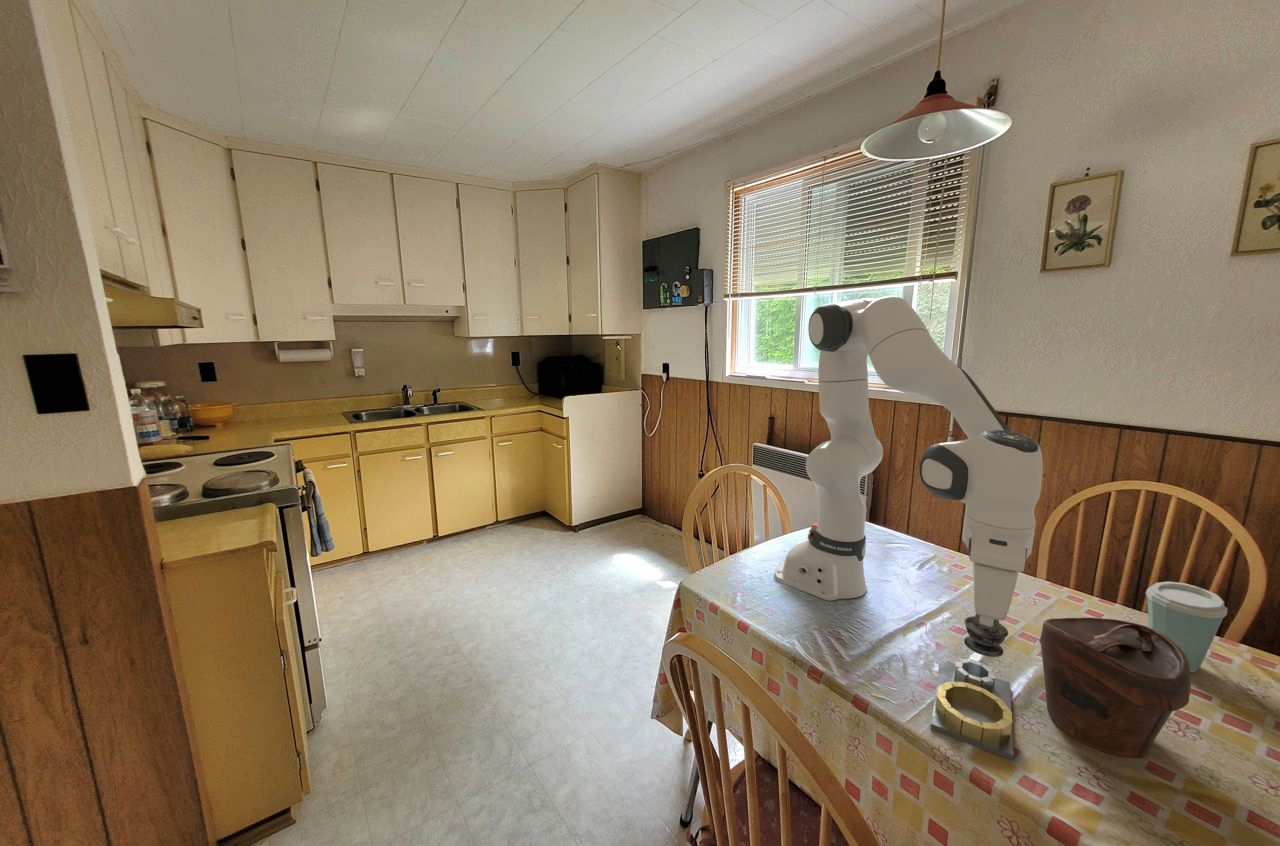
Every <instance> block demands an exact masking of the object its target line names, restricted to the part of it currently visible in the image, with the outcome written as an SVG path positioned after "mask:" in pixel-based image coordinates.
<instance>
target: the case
mask: <svg viewBox="0 0 1280 846" xmlns="http://www.w3.org/2000/svg"><path fill="white" fill-rule="evenodd" d="M1041 629H1042V630H1041V634H1040V637H1039V638H1038V639H1039V640H1038V641H1039V643H1040V650H1041V656H1042V665H1043V667H1042V669H1043V675H1044V676H1043V678H1044V687H1045V700H1046V709H1047V713H1048V714H1049V717H1050V718H1051V719H1052V721H1053V722H1054V723H1055V724H1056V725H1057V726H1058V727H1059V728H1060V729H1061V730H1063V731H1064V732H1065V733H1067V734H1068V735H1069V736H1070V737H1072V738H1074V739H1076V740H1078V741H1079V742H1081V743H1083V744H1084V745H1087V746H1089V747H1091V748H1093V749H1096V750H1098V751H1100V752H1101V751H1102V752H1105V753H1108V754H1110V755H1111V754H1112V755H1115V756H1119V757H1129V758H1130V757H1131V758H1132V757H1133V758H1136V757H1137V758H1143V757H1144V758H1145V757H1147V756H1148V754H1149V752H1150V749H1151V747H1152V745H1153V743H1154V741H1155V740H1156V738H1157V736H1158V735H1159V733H1160V732H1161V730H1162V729H1163V727H1164V726H1165V724H1166V722H1167V721H1168V719H1169V717H1170V716H1171V715H1172V713H1173V712H1175V711H1178V710H1181V709H1183V708H1185V707H1186V706H1187V705H1188V703H1190V702H1189V701H1190V696H1191V686H1192V685H1191V684H1192V683H1191V672H1190V666H1189V662H1188V659H1187V657H1186V655H1185V654H1184V652H1183V651H1182V650H1181V649H1180V647H1179V646H1178V645H1176V644H1175V643H1174V642H1173V641H1172V640H1170V639H1169V638H1168V637H1166V636H1165V635H1163V634H1162V633H1160V632H1158V631H1155V630H1153V629H1151V628H1149V626H1147V625H1144V624H1141V623H1140V624H1139V623H1135V622H1131V621H1126V620H1122V619H1115V618H1102V617H1101V618H1100V617H1065V618H1064V617H1063V618H1048V619H1046V620H1044V621H1043V623H1042V628H1041Z"/></svg>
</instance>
